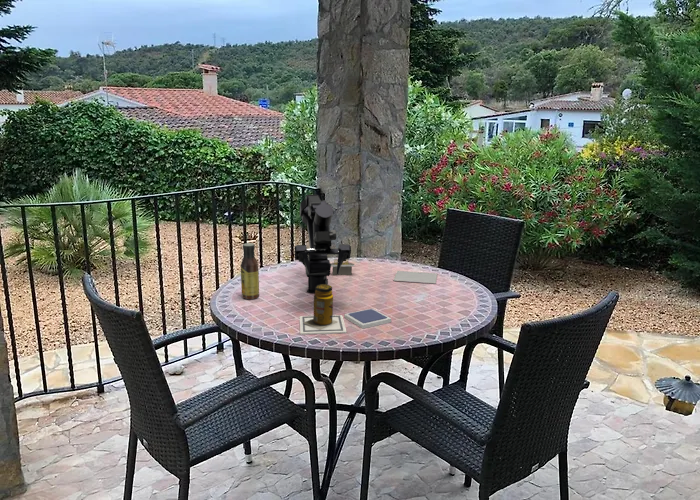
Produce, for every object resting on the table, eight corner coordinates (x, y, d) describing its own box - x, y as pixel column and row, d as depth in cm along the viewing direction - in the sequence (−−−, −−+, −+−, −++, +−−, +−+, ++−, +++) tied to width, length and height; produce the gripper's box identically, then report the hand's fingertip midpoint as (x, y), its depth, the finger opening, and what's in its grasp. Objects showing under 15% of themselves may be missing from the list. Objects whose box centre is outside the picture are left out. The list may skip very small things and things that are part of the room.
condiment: (338, 322, 174) (339, 286, 171) (320, 330, 168) (321, 293, 165) (321, 316, 179) (321, 281, 176) (303, 323, 173) (303, 287, 169)
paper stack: (434, 292, 207) (434, 290, 207) (369, 287, 211) (369, 286, 211) (437, 274, 229) (437, 273, 229) (377, 271, 234) (377, 269, 233)
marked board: (299, 317, 179) (299, 315, 179) (342, 316, 181) (342, 314, 181) (300, 334, 166) (300, 332, 166) (346, 333, 167) (346, 331, 167)
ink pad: (344, 317, 180) (344, 313, 179) (372, 311, 185) (372, 307, 185) (362, 328, 171) (362, 324, 170) (391, 322, 176) (391, 317, 176)
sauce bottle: (242, 294, 201) (240, 241, 196) (260, 294, 202) (258, 241, 197) (240, 300, 195) (238, 246, 190) (258, 300, 195) (256, 246, 190)
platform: (319, 271, 232) (319, 256, 231) (362, 271, 234) (362, 256, 232) (320, 280, 221) (320, 264, 219) (365, 279, 222) (365, 264, 220)
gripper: (294, 221, 180) (294, 262, 172) (350, 220, 182) (354, 261, 174) (294, 239, 190) (295, 279, 182) (348, 238, 191) (351, 278, 184)
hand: (323, 274), depth 180 cm, fingers open, 9 cm apart
